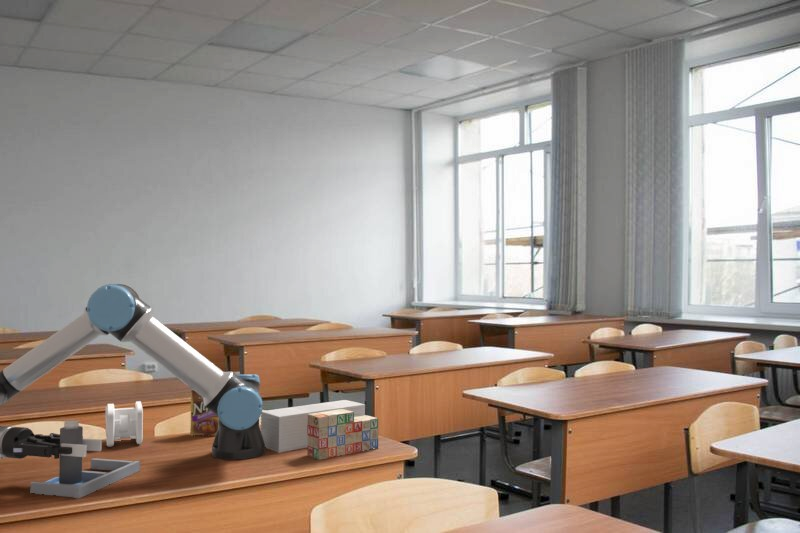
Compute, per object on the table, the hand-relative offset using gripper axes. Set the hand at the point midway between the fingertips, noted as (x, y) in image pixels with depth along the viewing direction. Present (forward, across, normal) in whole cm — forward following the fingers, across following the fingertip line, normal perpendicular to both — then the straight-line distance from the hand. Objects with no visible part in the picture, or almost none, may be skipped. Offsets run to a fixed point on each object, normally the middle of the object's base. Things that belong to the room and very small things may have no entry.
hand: (93, 448), depth 171 cm
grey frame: (-6, -6, -10) cm, 13 cm away
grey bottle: (-6, 0, -8) cm, 10 cm away
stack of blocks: (+47, -51, -10) cm, 70 cm away
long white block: (+34, -61, -10) cm, 71 cm away
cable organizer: (-22, -44, -10) cm, 50 cm away
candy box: (-3, -60, -10) cm, 61 cm away
